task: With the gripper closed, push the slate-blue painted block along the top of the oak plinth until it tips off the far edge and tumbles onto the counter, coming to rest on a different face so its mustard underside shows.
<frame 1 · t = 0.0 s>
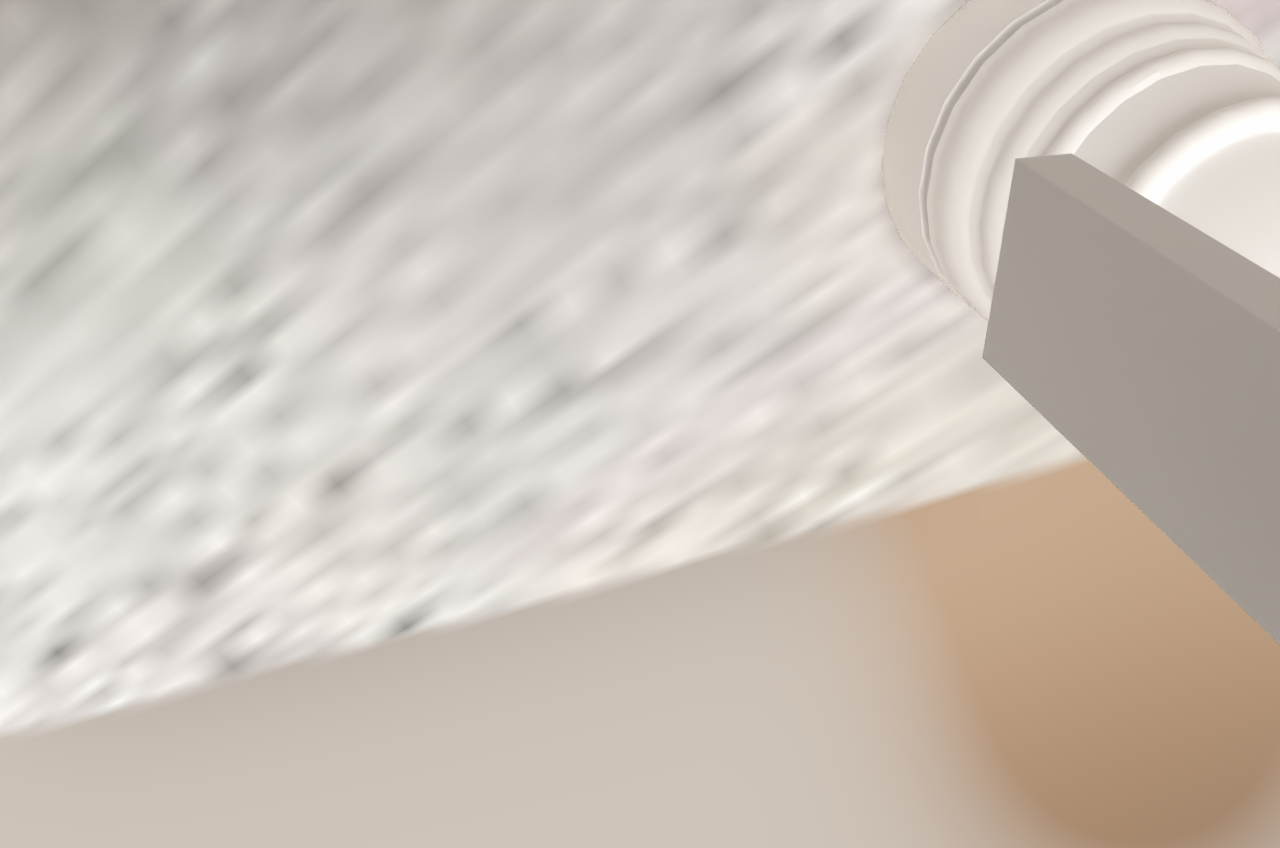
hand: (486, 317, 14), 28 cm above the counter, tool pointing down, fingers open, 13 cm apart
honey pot: (1034, 133, 47), on the counter
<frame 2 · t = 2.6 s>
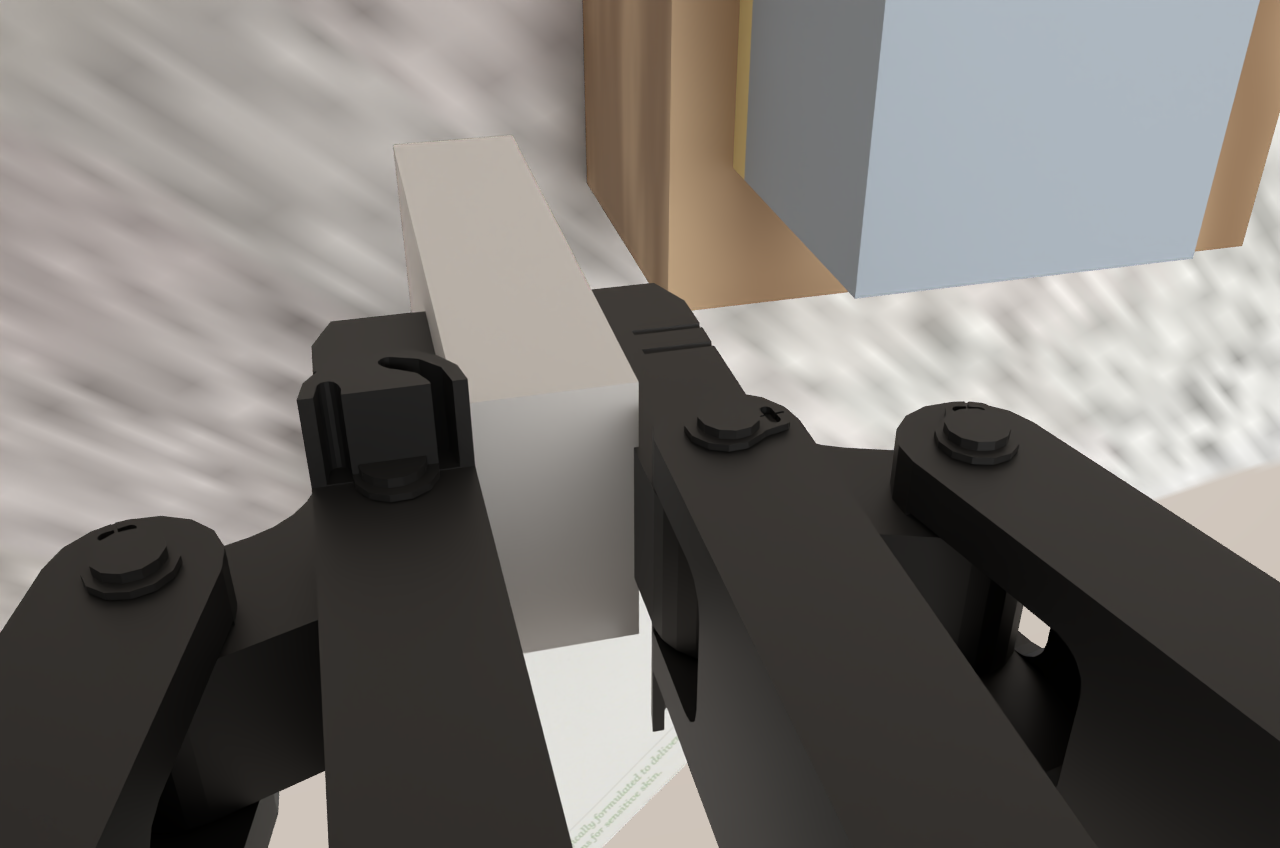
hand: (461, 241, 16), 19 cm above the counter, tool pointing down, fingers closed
skincare box: (470, 396, 40), on the counter
slate-blue block: (891, 0, 27), point 9 cm above the counter, touching oak plinth
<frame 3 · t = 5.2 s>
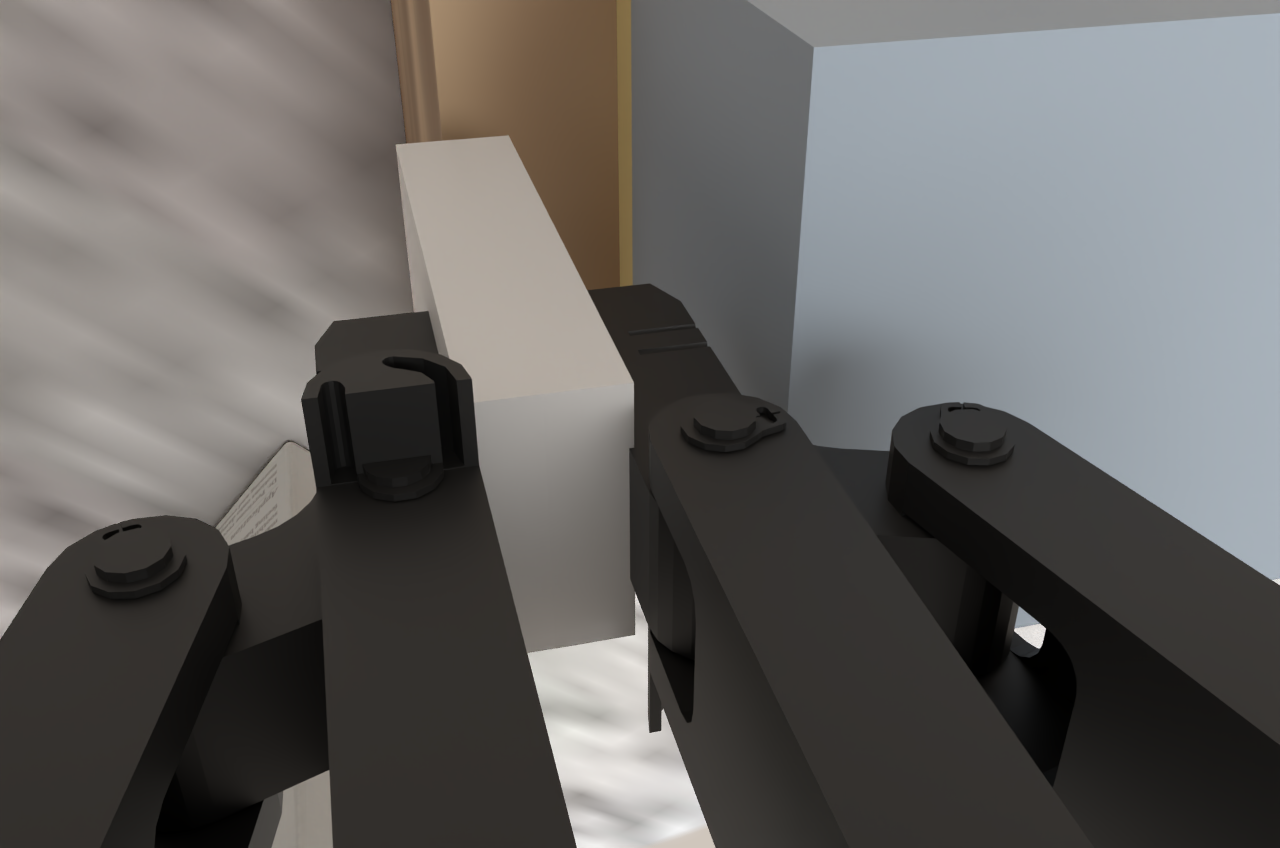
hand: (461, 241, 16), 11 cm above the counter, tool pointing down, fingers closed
skincare box: (296, 590, 31), on the counter
slate-blue block: (843, 146, 18), point 9 cm above the counter, touching gripper, oak plinth
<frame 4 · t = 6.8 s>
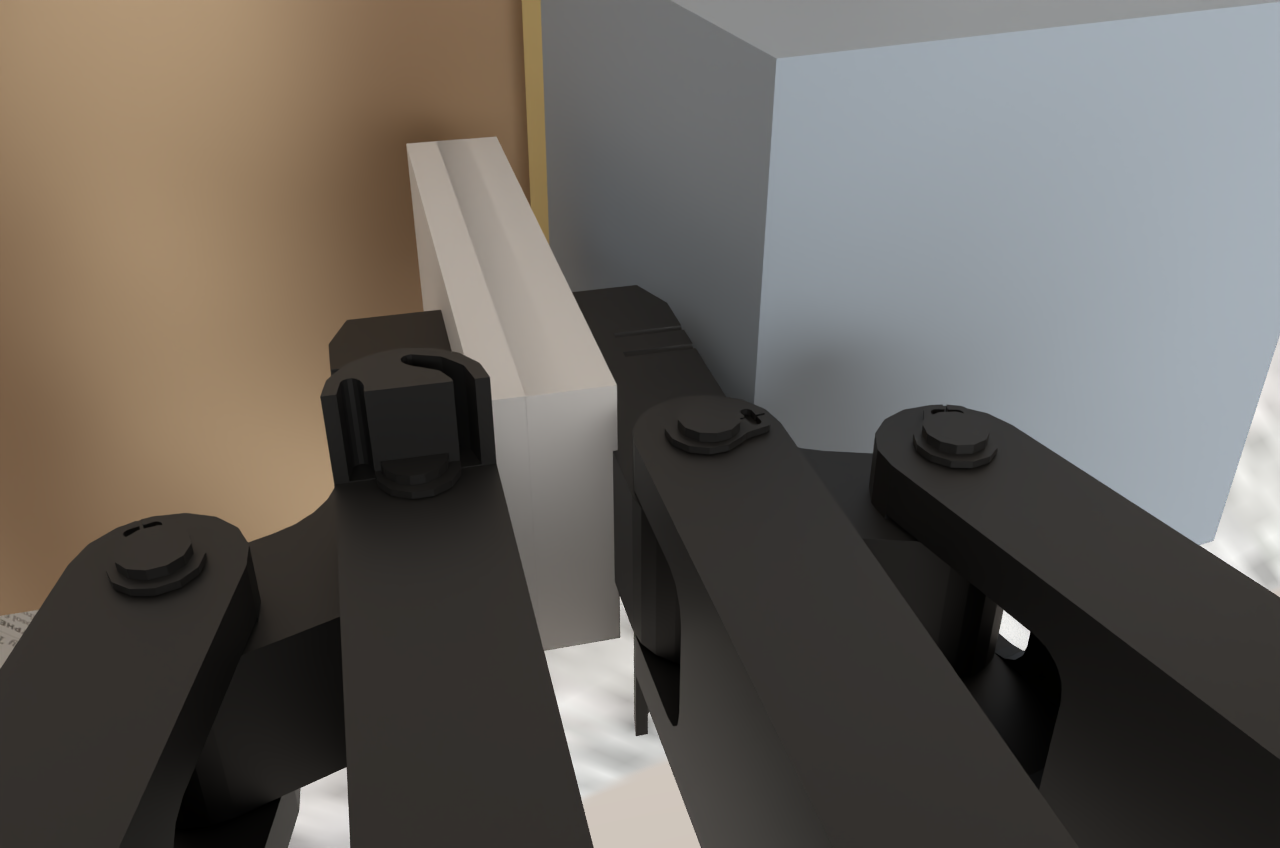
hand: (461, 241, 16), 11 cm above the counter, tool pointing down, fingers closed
oak plinth: (330, 13, 25), on the counter
slate-blue block: (749, 148, 19), point 9 cm above the counter, tilted 8°, touching gripper, oak plinth
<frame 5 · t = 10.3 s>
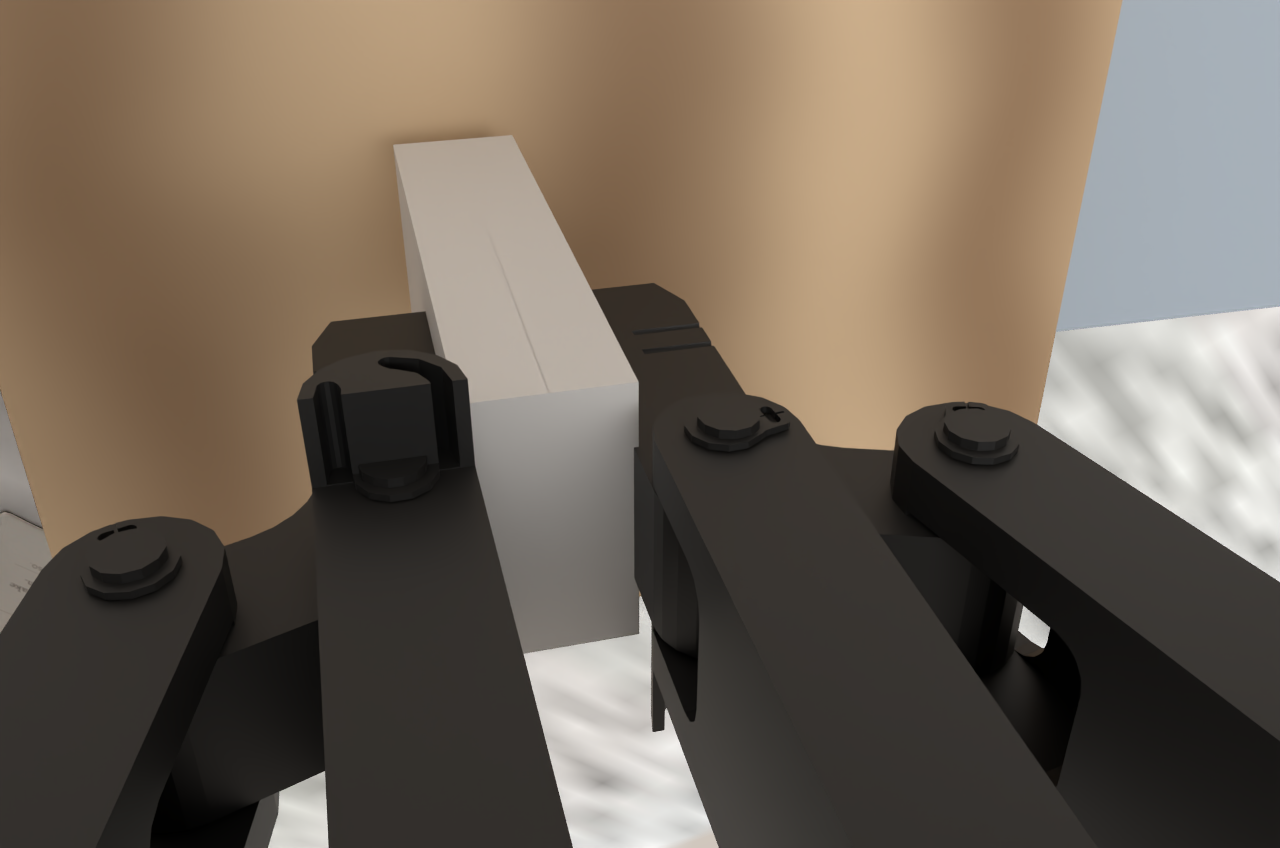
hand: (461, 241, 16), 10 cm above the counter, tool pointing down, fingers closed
oak plinth: (492, 56, 25), on the counter
skincare box: (33, 664, 30), on the counter
slate-blue block: (953, 96, 24), point 3 cm above the counter, tilted 90°
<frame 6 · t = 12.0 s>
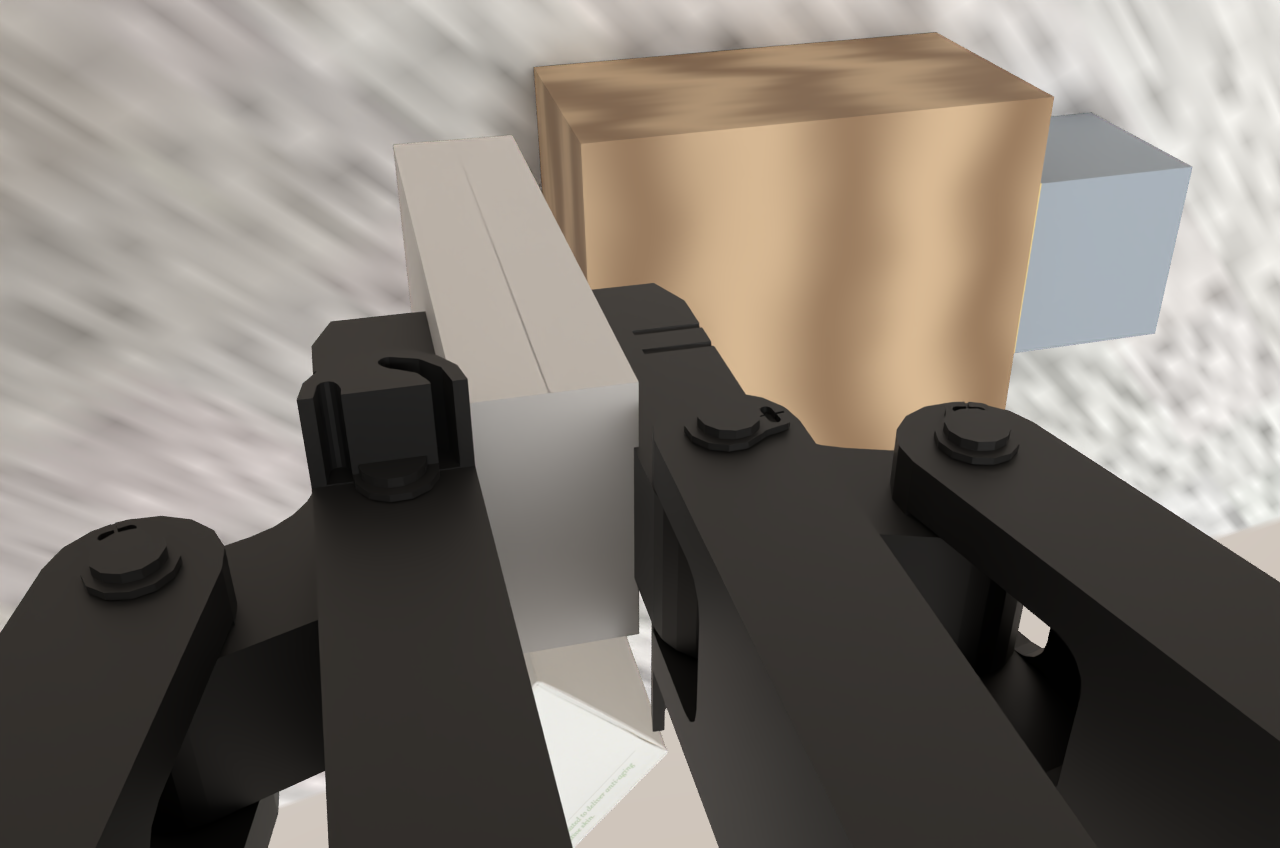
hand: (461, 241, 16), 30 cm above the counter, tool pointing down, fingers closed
oak plinth: (737, 221, 50), on the counter
skincare box: (477, 537, 55), on the counter
slate-blue block: (966, 239, 49), point 3 cm above the counter, tilted 90°
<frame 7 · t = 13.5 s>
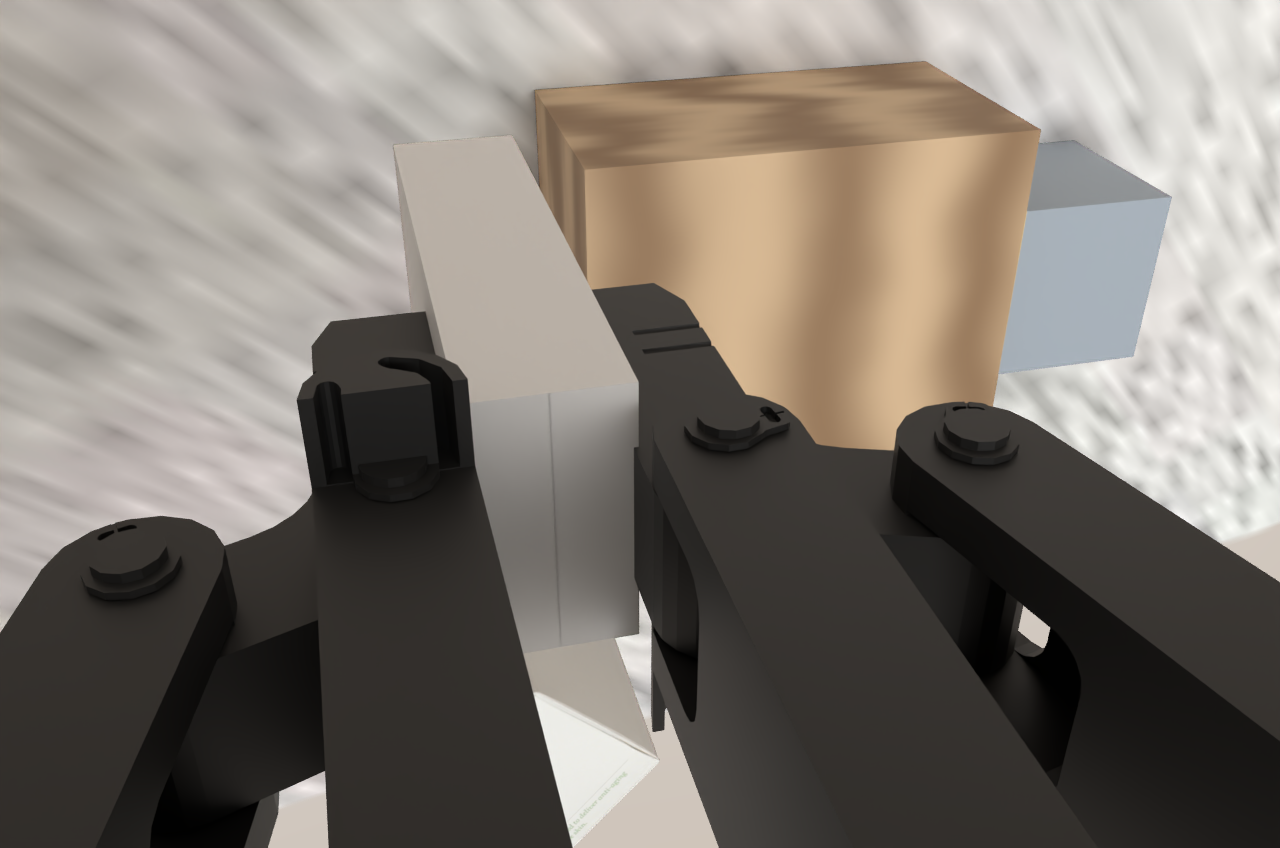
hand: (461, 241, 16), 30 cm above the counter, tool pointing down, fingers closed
oak plinth: (730, 242, 51), on the counter
skincare box: (469, 547, 56), on the counter
slate-blue block: (952, 262, 50), point 3 cm above the counter, tilted 90°
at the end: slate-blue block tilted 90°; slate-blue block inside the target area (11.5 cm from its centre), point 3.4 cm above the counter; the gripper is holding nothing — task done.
